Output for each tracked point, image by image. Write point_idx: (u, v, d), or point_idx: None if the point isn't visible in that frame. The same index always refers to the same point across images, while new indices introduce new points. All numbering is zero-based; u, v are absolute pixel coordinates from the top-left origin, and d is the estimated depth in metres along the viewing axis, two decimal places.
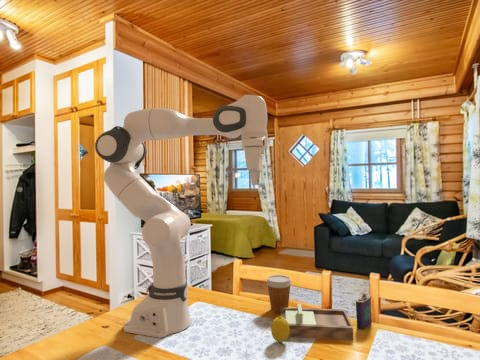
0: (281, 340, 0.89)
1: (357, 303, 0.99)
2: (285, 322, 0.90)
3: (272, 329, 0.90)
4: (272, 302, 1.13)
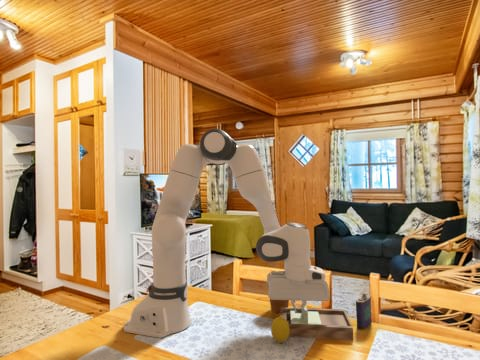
0: (281, 340, 0.89)
1: (357, 303, 0.99)
2: (285, 322, 0.90)
3: (272, 329, 0.90)
4: (272, 302, 1.13)
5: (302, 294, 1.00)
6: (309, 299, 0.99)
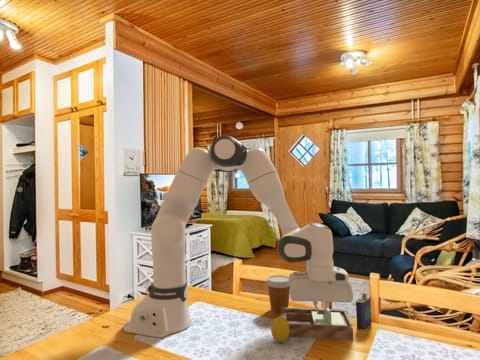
0: (281, 340, 0.89)
1: (357, 303, 0.99)
2: (285, 322, 0.90)
3: (272, 329, 0.90)
4: (272, 302, 1.13)
5: (325, 295, 0.99)
6: (332, 300, 0.98)
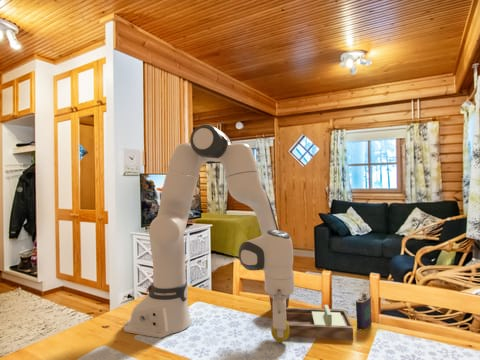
0: (281, 340, 0.89)
1: (357, 303, 0.99)
2: None
3: (272, 329, 0.90)
4: (272, 302, 1.13)
5: None
6: None
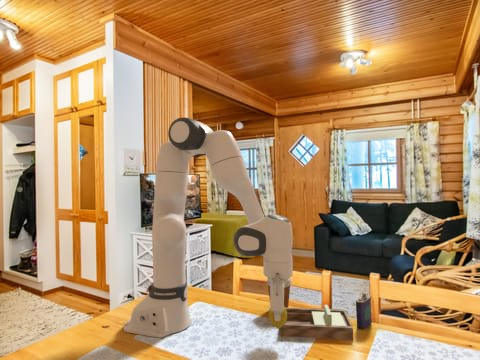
0: (278, 325, 0.89)
1: (357, 303, 0.99)
2: None
3: (270, 314, 0.90)
4: None
5: None
6: None
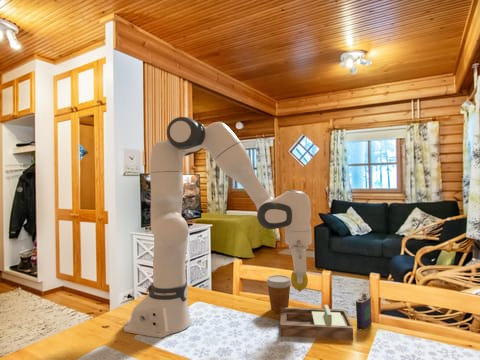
0: (300, 288, 0.99)
1: (357, 303, 0.99)
2: None
3: (292, 279, 1.01)
4: (272, 302, 1.13)
5: None
6: None
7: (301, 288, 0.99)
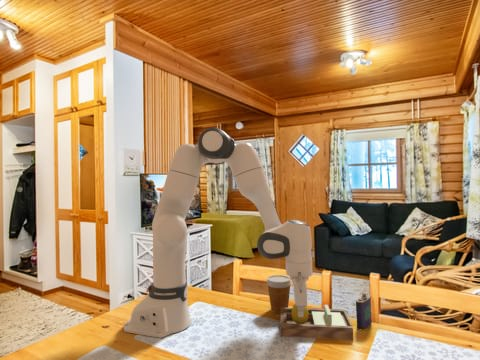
0: (301, 322, 0.99)
1: (357, 303, 0.99)
2: None
3: (293, 313, 1.00)
4: (272, 302, 1.13)
5: None
6: None
7: (302, 323, 0.99)
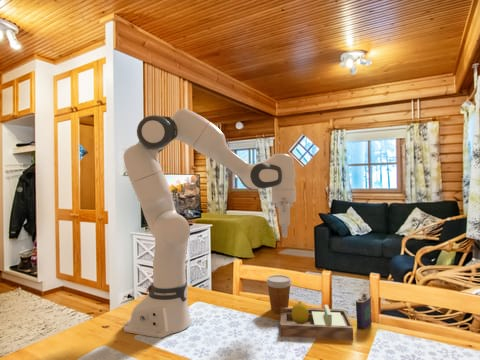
0: (301, 322, 0.99)
1: (357, 303, 0.99)
2: (305, 306, 1.00)
3: (293, 313, 1.00)
4: (272, 302, 1.13)
5: None
6: None
7: (302, 323, 0.99)
